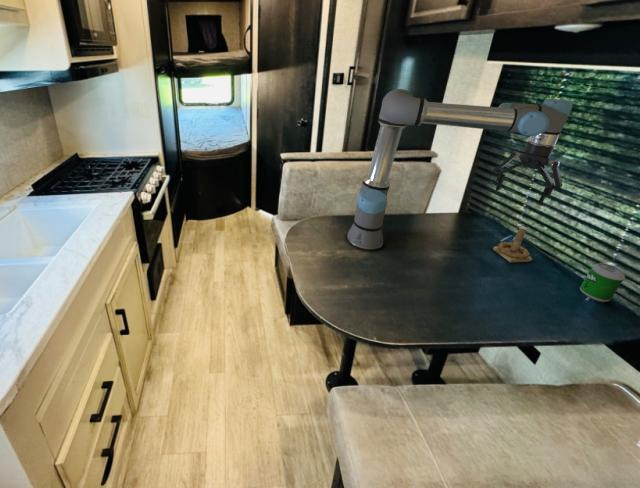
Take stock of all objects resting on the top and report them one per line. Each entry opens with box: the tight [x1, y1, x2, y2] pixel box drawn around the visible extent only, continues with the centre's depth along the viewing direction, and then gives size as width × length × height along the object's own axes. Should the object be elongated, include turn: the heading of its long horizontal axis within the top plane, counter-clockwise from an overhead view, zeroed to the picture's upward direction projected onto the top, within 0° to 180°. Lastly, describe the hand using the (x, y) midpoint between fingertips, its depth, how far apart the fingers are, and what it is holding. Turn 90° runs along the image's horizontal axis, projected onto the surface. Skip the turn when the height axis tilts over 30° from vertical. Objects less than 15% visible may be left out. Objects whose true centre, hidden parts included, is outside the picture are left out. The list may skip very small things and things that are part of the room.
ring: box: [496, 241, 531, 259], centre depth 130 cm, size 10×10×2 cm
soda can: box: [579, 262, 626, 303], centre depth 108 cm, size 8×8×12 cm
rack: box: [492, 226, 533, 263], centre depth 129 cm, size 9×9×14 cm
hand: (517, 196), depth 122 cm, fingers open, 13 cm apart
